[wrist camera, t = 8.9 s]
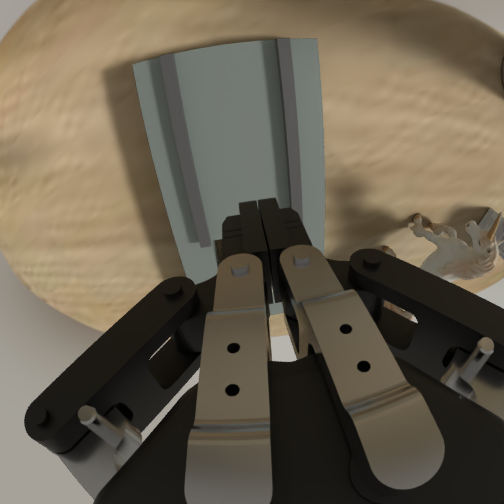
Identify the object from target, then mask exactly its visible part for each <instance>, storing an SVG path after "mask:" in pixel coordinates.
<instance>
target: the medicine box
mask: <svg viewBox="0 0 504 504" xmlns="http://www.w3.org/2000/svg"><path fill="white" fill-rule="evenodd" d="M498 215H499V214H498V213H497V212H495V211H494V210H493V209H492V208H490V209H489V210H488V211H487V213H486V214H485V216H484V217H483V218H482V220H481V221H480V223H479V224H478V226H479V227H480V228H481V229H482V230H483V231H487V232H489V231H490V229H491V227H492V225H493V224H494V222H495V220H496V219H497V217H498ZM495 236H496V240H504V218H503V217H501V219H500V221H499V224H498V227H497V230H496V232H495ZM498 249H499V255H500V256H501V257H502V258H503V259H504V242H502V243H501V244H500V245H499V246H498Z"/></svg>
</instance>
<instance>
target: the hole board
mask: <svg viewBox="0 0 504 504" xmlns="http://www.w3.org/2000/svg"><path fill="white" fill-rule="evenodd" d="M132 65H133V71H134V76H135V81H136V86H137V91H138V96H139V101H140V106H141V111H142V115H143V120H144V124H145V129H146V133H147V137H148V142H149V146H150V150H151V154H152V158H153V162H154V166H155V170H156V174H157V178H158V182H159V185H160V189H161V193H162V196H163V200H164V204H165V207H166V211H167V214H168V218H169V221H170V225H171V228H172V232H173V235H174V238H175V242H176V245H177V248H178V251H179V255H180V258H181V261H182V264H183V267H184V270H185V274H186V277H187V278H189V279H191V280H192V281H193V282H194V283H195V285H196V284H198V283H201V282H204V281H206V280H208V279H210V278H212V277H213V276H215V275H216V274H217V271H218V266H219V264H220V260H219V255H218V251H217V246H216V242H215V240H219V239H222V223H223V222H224V220H225V219H226V217H227V216H233V215H240V213H239V204H238V203H240V202H246V201H253V200H256V202H257V206H258V200H260V199H267V198H274V197H275V198H276V200H277V203H278V206H279V208H280V209H281V208H288V207H290V208H292V209H293V210H295V211H296V212H298V214H299V216H300V218H301V221H302V223H303V225H304V227H305V229H306V232H307V234H308V236H309V238H310V241H311V243H312V245H313V247H316V248H317V249H319V250H320V251H321V252H322V253H323V255H324V233H325V160H324V129H323V108H322V91H321V77H320V65H319V54H318V43H317V38H305V39H290V38H278V39H275V40H261V41H250V42H240V43H232V44H225V45H218V46H211V47H205V48H199V49H194V50H189V51H184V52H179V53H170V54H166V55H162V56H159V57H157V58H153V59H150V60H146V61H142V62H139V63H135V64H132ZM272 295H273V292H272ZM269 308H270V315H273V314H279V313H284V312H283V305H282V302H279V303H275V300H274V295H273V304H269Z"/></svg>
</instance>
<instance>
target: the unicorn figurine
mask: <svg viewBox="0 0 504 504" xmlns="http://www.w3.org/2000/svg"><path fill="white" fill-rule="evenodd" d="M501 217H502V212H501V213H499V215H498V217H497V219H496V220H495V222H494V224H493V225H492V227H491V229H490V231H489V232H487V231H483V230H482V229H481V228H480V227H479V226H477V225H476V222H475V221H472V220H471V221H469V222H467V223H466V224H465V231H466V232H467V233H468V234H469V235H470V236H471V238H472V243H473V248H472V247H469V246H468V245H467V244H466V243H465V242H464V241H462V240H461V239H459V238H457V235H456V231H455V229H454V228H452V227H450V226H447V225H445V224H443V223H432V224H429V227H430V229H431V230H432V231H433V233H432V232H429V231H426V230H425V229H424V228H423V226H422V218H421V214H417V215H415V216H414V218H413V221H414V223H415V224H416V226H412V227H410V229H411V230H413V233H414V234H415V235H416V236H417V237H422V236H424V237H425V238H426V239H427V240H429V241H431V242H433V243H434V244H435V245H437V247H438V248H437V250H436V251H435V252H433V253H432V254H431V255H430V256H428V257H427V258H426V259H425V261H424V262H423V263H422V265H421V267H420V269H423V270H425V271H427V272H429V273H431V274H433V275H436V276H438V277H440V278H442V279H444V280H446V281H448V282H450V283H451V282H452V281H454V280H456V279H460V278H461V279H463V280H471V279H474V278H479V277H482V276H483V275H485V274H486V273H489V272H491V271H492V270H493V269H494V267H495V264H496V263H497V259H498V255H499V249H498V246H499V245H500V244H501V243H502V242H504V240H496V236H495V232H496V230H497V227H498V224H499V221H500V219H501ZM444 232H447V233H448V234H449V239H446V238H444V237H442V236H438V235H442V234H443V233H444ZM384 253H387V254H389V255H391V256H393V257H396V255H395V253H394V252H393V250H392V249H390V248H389V247H388V246H386V247H384ZM384 307H386V308H388V309H390V310H392V311H394V312H396V313H398V314H400V315H401V316H403V317H405V318H407V319H409V320H411V321H412V320H413V318H414V315H413V314H411V313H409V312H407V311H406V310H405V311H403V310H402V308H400V307H398V306H396V305H394V304H392V303H390V302H388V301H386V300H385V303H384Z"/></svg>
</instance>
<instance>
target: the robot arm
mask: <svg viewBox="0 0 504 504" xmlns="http://www.w3.org/2000/svg"><path fill="white" fill-rule="evenodd" d="M502 79H503V85H504V60H503V66H502ZM238 204H239V213H240V215H233V216H227V217H226V219H225V220H224V222H223V223H222V257H223V261H222V262H221V263H220V264H219V266H218V271H217V274H216V275H215V276H213V277H212V278H210V279H208V280H206V281H204V282H201V283H198V284H196V285H195V283H194V282H193V281H192V280H191V279H189V278H187V277H173V278H169V279H167V280H164V281H163V282H161V283H160V284H159V285H157V286H156V287H155V288H154V289H153V290H152V291H151V292H150V293H148V294H147V295H146V296H145V297H144V298H143V299H142V300H141V301H139V302H138V303H137V304H136V305H135V306H134V307H133V308H132V309H131V310H129V311H128V312H127V313H126V314H125V315H124V316H123V317H122V318H121V319H119V320H118V321H117V322H116V323H115V324H114V325H113V326H112V327H111V328H110V329H109V330H107V331H106V332H105V333H104V334H103V335H102V336H101V337H100V338H99V339H98V340H97V341H96V342H94V343H93V344H92V345H91V346H90V347H89V348H88V349H87V350H86V351H85V352H84V353H83V354H82V355H81V356H80V357H78V358H77V359H76V360H75V361H74V363H72V364H71V365H70V366H69V367H68V368H67V369H66V370H65V371H64V372H63V373H62V374H61V375H60V376H59V377H58V378H57V379H56V380H55V381H54V382H52V383H51V384H50V386H49V387H47V388H46V389H45V390H44V391H43V392H42V393H41V395H39V396H38V397H37V398H36V399H35V400H34V401H33V402H32V403H31V404H30V406H29V407H28V409H27V411H26V414H25V419H24V423H25V429H26V431H27V433H28V435H29V436H30V437H31V438H32V439H34V440H35V441H37V442H38V443H40V444H41V445H43V446H44V447H46V448H47V449H48V450H49V451H51V452H52V453H54V454H56V455H57V456H59V458H60V459H61V460H62V462H63V463H64V464H65V465H66V467H67V468H68V469H69V471H70V472H71V473H72V474H73V476H74V477H75V478H76V479H77V480H78V482H79V483H80V484H81V485H82V486H83V488H84V489H85V490H86V491H87V492H88V493H89V494H90V496H91V497H92V498H93V499H94V503H93V504H504V309H503V308H501V307H499V306H497V305H495V304H493V303H491V302H489V301H487V300H485V299H483V298H481V297H479V296H477V295H475V294H473V293H471V292H469V291H467V290H465V289H463V288H461V287H459V286H457V285H455V284H453V283H450V282H448V281H446V280H444V279H442V278H440V277H438V276H436V275H433V274H431V273H429V272H427V271H425V270H423V269H420V268H418V267H416V266H414V265H411V264H409V263H407V262H405V261H403V260H400V259H398V258H396V257H393V256H391V255H389V254H387V253H384V252H382V251H379V250H376V249H361V250H358V251H356V252H355V253H353V254H352V255H351V257H350V261H336V260H330V259H327V258H325V257H324V255H323V253H322V252H321V251H320V250H319V249H317V248H316V247H313V245H312V243H311V241H310V238H309V236H308V234H307V232H306V229H305V227H304V225H303V223H302V221H301V218H300V216H299V214H298V212H296V211H295V210H293V209H292V208H290V207H288V208H281V209H280V208H279V206H278V203H277V200H276V198H275V197H274V198H267V199H260V200H258V206H257V202H256V200H253V201H246V202H240V203H238ZM272 290H273V295H274V300H275V303H279V302H282V305H283V312H284V321H285V324H286V327H287V330H288V333H289V336H290V339H291V342H292V345H293V349H294V352H295V355H296V358H297V360H296V361H293V362H278V361H277V362H276V361H272V354H271V340H270V325H269V317H270V308H269V304H273V295H272ZM385 300H386V301H388V302H390V303H392V304H394V305H396V306H398V307H400V308H402V309H404V310H406V311H407V312H409V313H411V314H413V315H414V316H415V317H416V319H417V321H418V323H415V322H413V321H411V320H409V319H407V318H405V317H403V316H401V315H400V314H398V313H396V312H394V311H392V310H390V309H388V308H386V307H384V303H385ZM169 337H171V339H170V340H169V341H168V342H167V343H166V344H165V345H164V346H163V347H162V348H161V349H160V350H159V351H158V352H157V353H156V354H155V355H154V356H153V357H152V358H151V359H150V357H151V356H152V355H153V354H154V353H155V351H157V350H158V349H159V348H160V346H161V345H162V344H163V343H164V342H165V341H166V340H167V339H168V338H169ZM149 359H150V360H149ZM199 368H200V374H199V382H198V383H197V384H196V385H194V386H193V387H192V388H190V389H189V390H188V391H187V392H186V393H185V394H184V395H183V396H182V397H181V398H180V399H179V400H178V401H177V403H176V404H175V405H174V406H173V407H172V409H171V410H170V411H169V412H168V413H167V415H166V416H165V417H164V418H163V419H162V421H161V422H160V423H159V424H158V425H157V427H156V428H155V429H154V430H153V431H152V432H151V433H150V435H149V436H148V437H147V438H146V439H145V441H144V442H143V443H142V435H141V432H142V431H143V430H144V429H145V428H146V427H147V426H148V425H149V424H150V423H151V421H152V420H153V419H154V418H155V417H156V416H157V415H158V414H159V413H160V412H161V410H162V409H163V408H164V407H165V406H166V405H167V404H168V403H169V402H170V401H171V399H172V398H173V397H174V396H175V395H176V394H177V393H178V392H179V391H180V389H181V388H182V387H183V386H184V385H185V384H186V383H187V382H188V380H189V379H190V378H191V377H192V376H193V375H194V374H195V372H196V371H197V370H198V369H199Z"/></svg>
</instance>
